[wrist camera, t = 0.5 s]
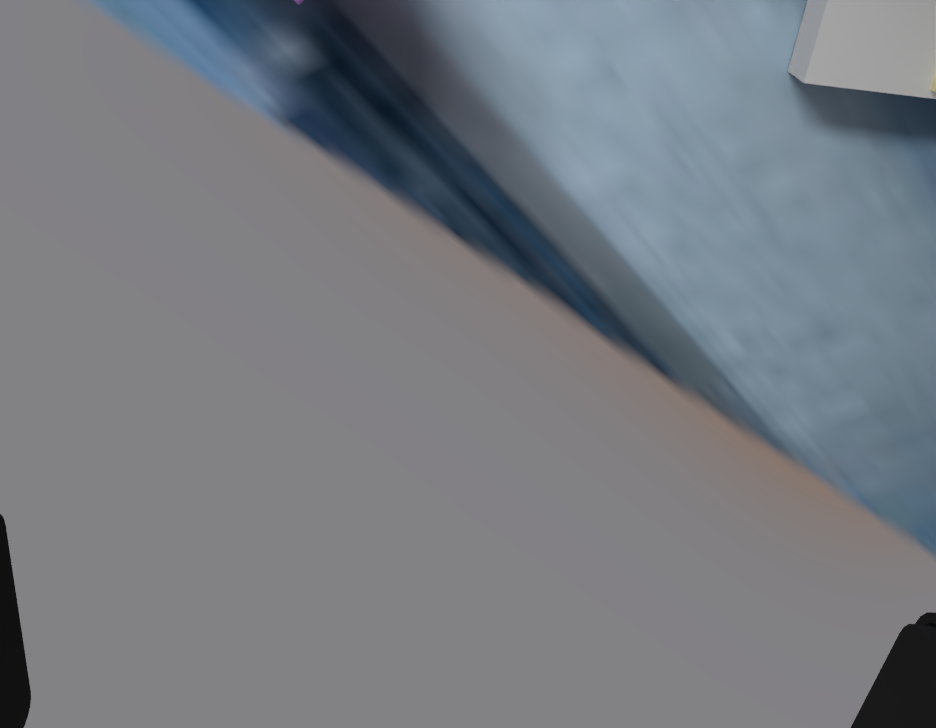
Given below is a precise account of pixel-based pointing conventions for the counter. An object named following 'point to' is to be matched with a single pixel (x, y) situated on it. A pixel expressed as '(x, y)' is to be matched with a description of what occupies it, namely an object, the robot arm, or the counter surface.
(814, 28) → the panel
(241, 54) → the counter surface
